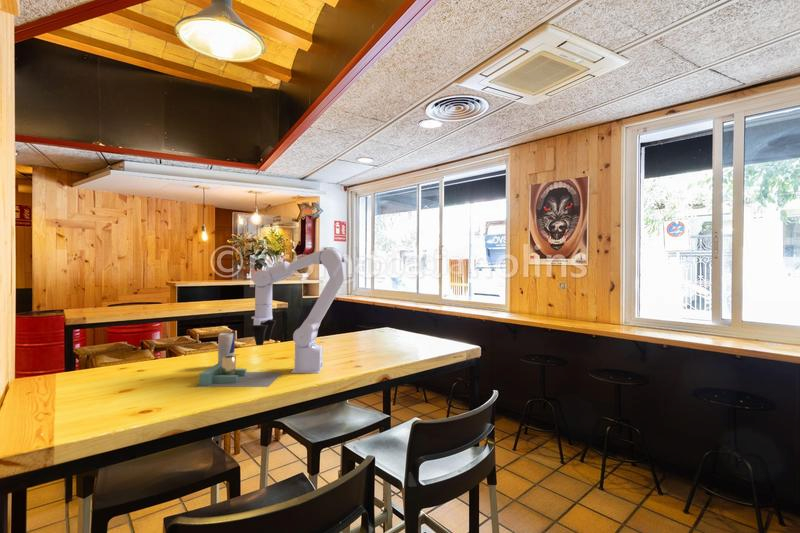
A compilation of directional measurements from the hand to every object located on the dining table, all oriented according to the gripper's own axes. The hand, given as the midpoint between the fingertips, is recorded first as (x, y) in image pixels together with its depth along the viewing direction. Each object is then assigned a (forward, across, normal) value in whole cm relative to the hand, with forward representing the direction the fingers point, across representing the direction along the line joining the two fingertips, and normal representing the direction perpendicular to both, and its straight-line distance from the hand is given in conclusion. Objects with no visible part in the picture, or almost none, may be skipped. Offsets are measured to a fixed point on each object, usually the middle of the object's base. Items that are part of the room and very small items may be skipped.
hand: (263, 342), depth 136 cm
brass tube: (+9, +12, -7) cm, 17 cm away
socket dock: (+9, +12, -7) cm, 17 cm away
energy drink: (+10, -3, -14) cm, 17 cm away
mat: (+9, +12, -3) cm, 16 cm away
